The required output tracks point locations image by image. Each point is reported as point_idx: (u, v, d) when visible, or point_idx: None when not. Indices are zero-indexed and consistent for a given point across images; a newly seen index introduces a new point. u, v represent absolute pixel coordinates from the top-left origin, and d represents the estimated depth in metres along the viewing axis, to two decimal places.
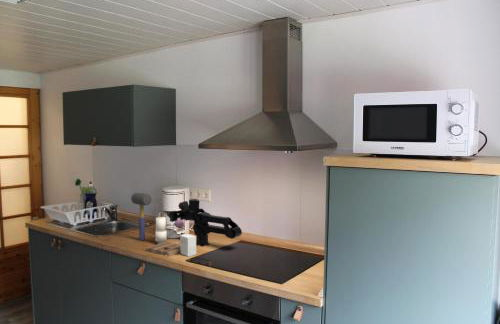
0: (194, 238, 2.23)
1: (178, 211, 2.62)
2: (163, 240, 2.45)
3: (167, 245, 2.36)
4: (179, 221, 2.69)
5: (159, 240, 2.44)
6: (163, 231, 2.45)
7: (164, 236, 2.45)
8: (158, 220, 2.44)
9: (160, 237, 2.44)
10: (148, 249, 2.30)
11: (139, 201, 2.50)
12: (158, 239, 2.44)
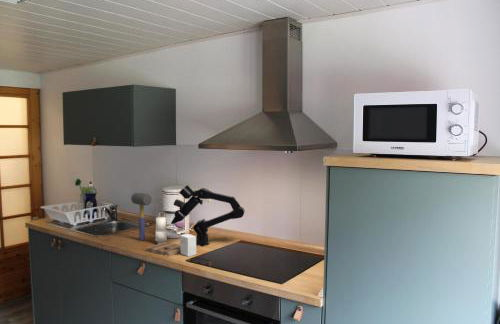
0: (194, 238, 2.23)
1: None
2: (163, 240, 2.45)
3: (167, 245, 2.36)
4: (179, 221, 2.69)
5: (159, 240, 2.44)
6: (163, 231, 2.45)
7: (164, 236, 2.45)
8: (158, 220, 2.44)
9: (160, 237, 2.44)
10: (148, 249, 2.30)
11: (139, 201, 2.50)
12: (158, 239, 2.44)
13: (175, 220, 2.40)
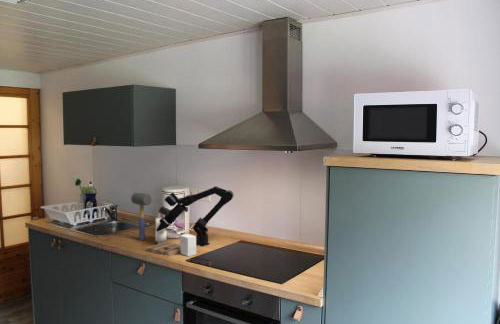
0: (194, 238, 2.23)
1: None
2: (163, 240, 2.45)
3: (167, 245, 2.36)
4: (179, 221, 2.69)
5: (159, 240, 2.44)
6: (163, 231, 2.45)
7: (164, 236, 2.45)
8: (158, 220, 2.44)
9: (160, 237, 2.44)
10: (148, 249, 2.30)
11: (139, 201, 2.50)
12: (158, 239, 2.44)
13: (161, 227, 2.42)
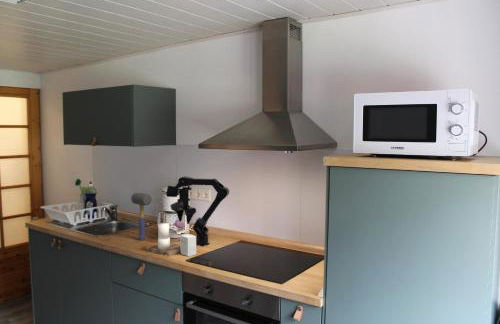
0: (194, 238, 2.23)
1: (179, 219, 2.50)
2: (169, 247, 2.29)
3: None
4: (179, 221, 2.69)
5: (166, 248, 2.27)
6: (169, 237, 2.29)
7: (169, 243, 2.29)
8: (165, 226, 2.26)
9: (167, 244, 2.27)
10: (148, 249, 2.30)
11: (139, 201, 2.50)
12: (165, 247, 2.26)
13: (189, 218, 2.42)
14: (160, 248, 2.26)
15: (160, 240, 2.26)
